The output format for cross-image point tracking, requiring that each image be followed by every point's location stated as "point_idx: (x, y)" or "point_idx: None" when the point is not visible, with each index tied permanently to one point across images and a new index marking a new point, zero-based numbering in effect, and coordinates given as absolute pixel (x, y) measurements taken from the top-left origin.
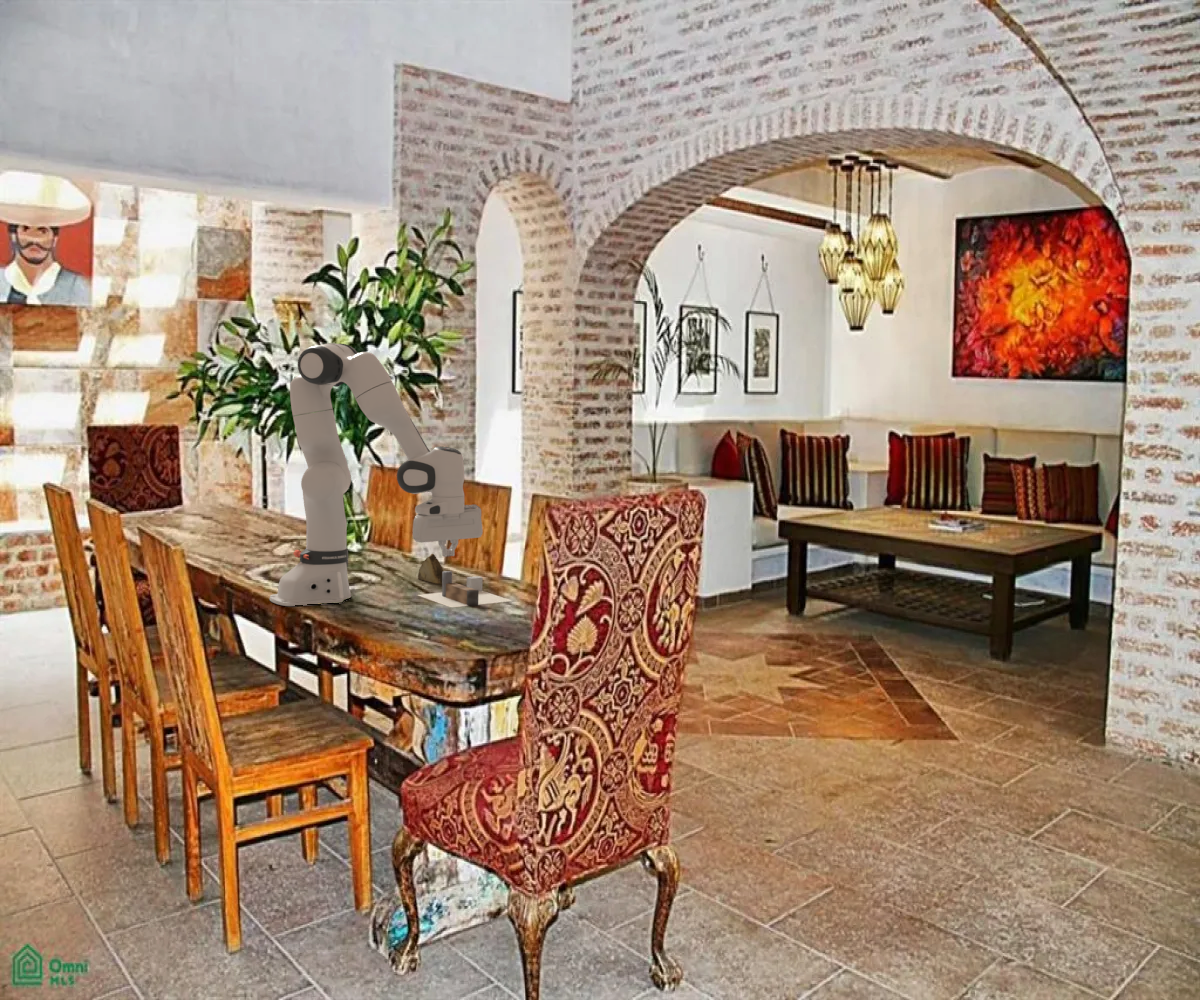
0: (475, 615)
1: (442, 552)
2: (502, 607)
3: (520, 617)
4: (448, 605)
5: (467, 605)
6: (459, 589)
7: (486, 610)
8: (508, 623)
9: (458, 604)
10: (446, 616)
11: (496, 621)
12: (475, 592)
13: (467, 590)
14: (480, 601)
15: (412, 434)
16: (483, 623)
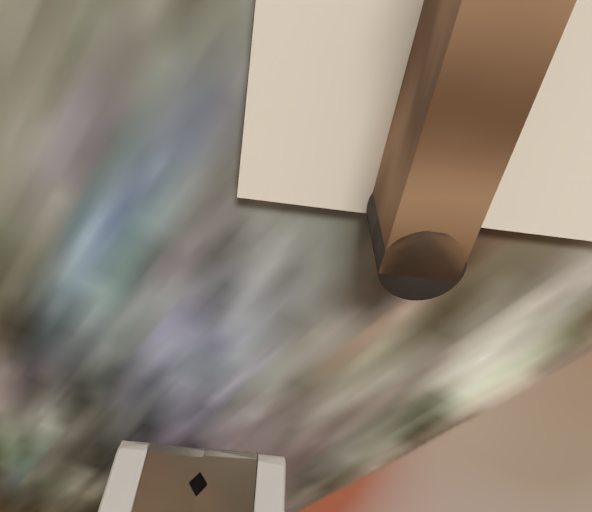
0: (273, 336)
1: (106, 489)
2: (536, 279)
3: (407, 439)
4: (259, 139)
5: (362, 208)
6: (415, 138)
7: None
8: (288, 473)
9: (338, 152)
10: (126, 284)
11: (272, 439)
12: (408, 294)
13: (396, 244)
14: (531, 158)
15: None
16: (203, 438)
